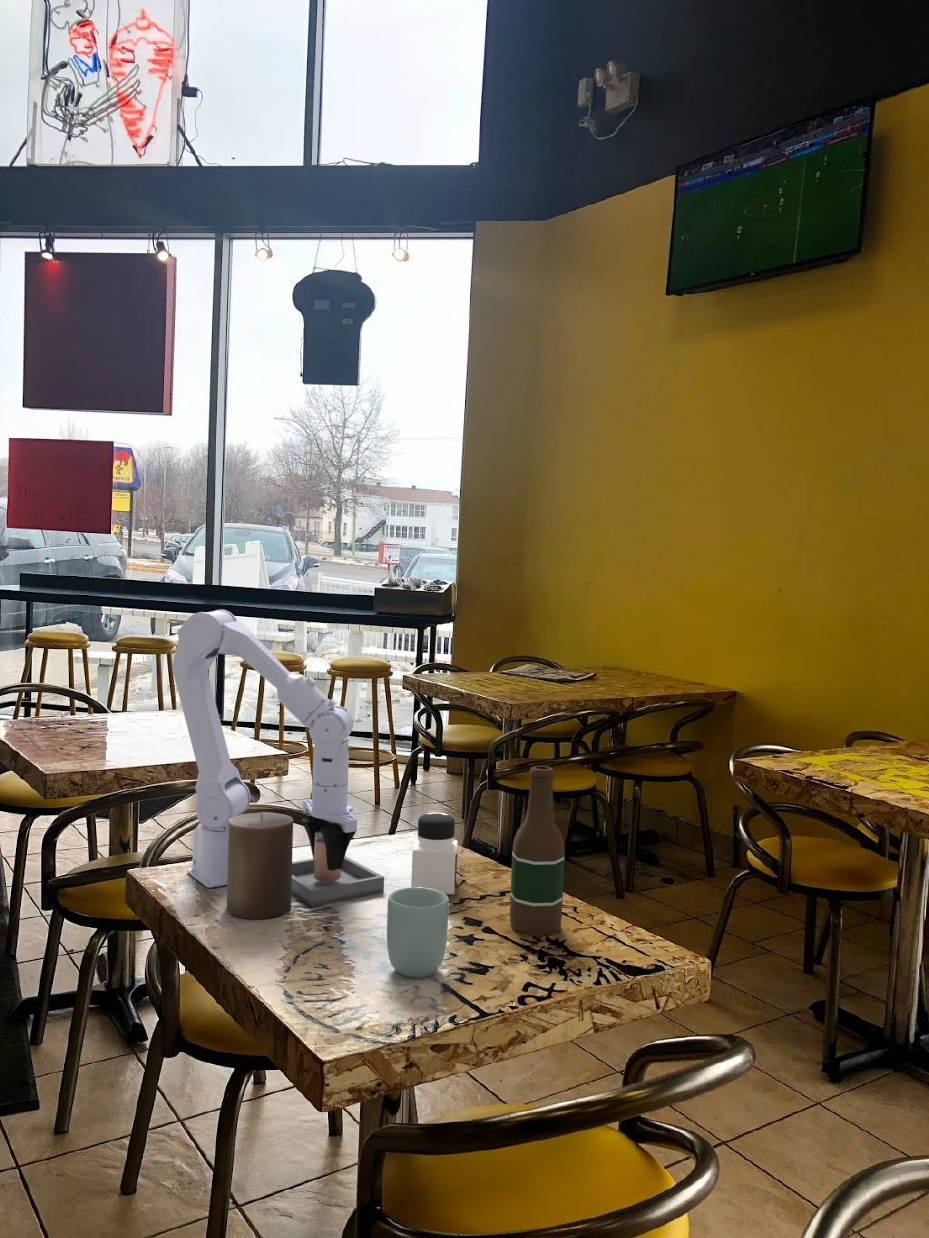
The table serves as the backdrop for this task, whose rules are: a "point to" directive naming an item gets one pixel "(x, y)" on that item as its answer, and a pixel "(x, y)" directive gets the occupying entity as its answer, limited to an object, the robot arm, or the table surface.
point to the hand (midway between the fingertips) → (327, 865)
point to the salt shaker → (322, 861)
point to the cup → (417, 930)
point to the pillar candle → (259, 865)
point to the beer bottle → (538, 862)
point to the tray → (334, 883)
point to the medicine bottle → (435, 853)
